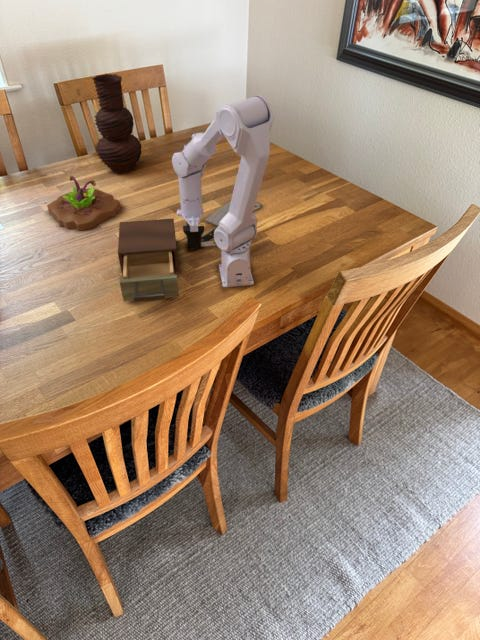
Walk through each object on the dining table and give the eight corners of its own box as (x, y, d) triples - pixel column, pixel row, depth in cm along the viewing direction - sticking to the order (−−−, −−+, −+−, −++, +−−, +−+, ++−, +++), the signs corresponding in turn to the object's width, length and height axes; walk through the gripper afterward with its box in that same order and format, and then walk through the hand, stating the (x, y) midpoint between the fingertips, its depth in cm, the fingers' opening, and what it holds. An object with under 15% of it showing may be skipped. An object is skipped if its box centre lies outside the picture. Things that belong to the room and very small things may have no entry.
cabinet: (179, 272, 122) (176, 248, 117) (122, 277, 120) (117, 253, 115) (175, 241, 132) (173, 218, 127) (124, 245, 130) (119, 222, 125)
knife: (188, 249, 129) (187, 240, 127) (187, 243, 131) (186, 235, 128) (219, 246, 130) (219, 237, 128) (218, 240, 132) (218, 232, 129)
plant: (90, 189, 154) (83, 156, 146) (129, 209, 145) (123, 175, 137) (38, 213, 142) (26, 179, 135) (76, 236, 134) (67, 201, 126)
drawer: (180, 312, 109) (178, 293, 105) (122, 317, 108) (118, 298, 104) (175, 263, 123) (173, 245, 119) (124, 267, 121) (121, 249, 117)
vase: (92, 175, 161) (71, 82, 141) (113, 157, 172) (97, 68, 151) (132, 181, 158) (117, 88, 137) (151, 162, 169) (140, 73, 148)
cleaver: (177, 234, 135) (203, 246, 130) (177, 232, 134) (203, 244, 130) (238, 196, 152) (263, 205, 147) (238, 194, 151) (263, 204, 147)
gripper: (174, 183, 124) (178, 226, 134) (176, 211, 114) (180, 256, 123) (200, 182, 125) (202, 225, 135) (205, 209, 115) (207, 254, 124)
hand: (193, 240), depth 129 cm, fingers open, 7 cm apart
